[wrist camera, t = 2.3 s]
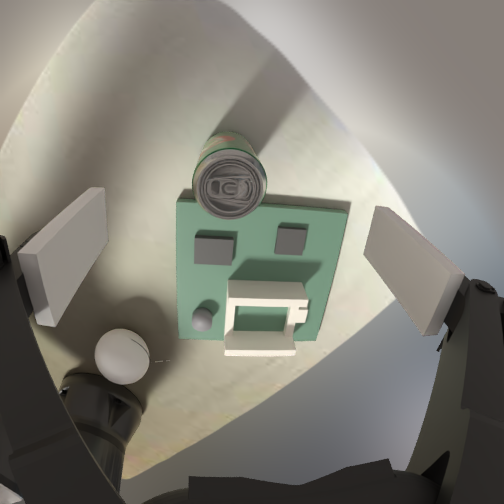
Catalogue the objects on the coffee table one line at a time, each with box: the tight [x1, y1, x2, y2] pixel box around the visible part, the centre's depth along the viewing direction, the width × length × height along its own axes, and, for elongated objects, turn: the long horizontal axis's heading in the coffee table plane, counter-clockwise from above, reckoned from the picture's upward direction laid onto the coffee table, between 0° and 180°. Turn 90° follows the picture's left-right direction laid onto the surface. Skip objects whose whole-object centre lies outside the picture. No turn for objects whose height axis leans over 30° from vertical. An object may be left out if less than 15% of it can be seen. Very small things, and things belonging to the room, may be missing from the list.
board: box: [176, 198, 348, 356], centre depth 36 cm, size 18×18×5 cm
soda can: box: [192, 132, 267, 220], centre depth 26 cm, size 5×5×12 cm
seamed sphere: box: [95, 329, 170, 385], centre depth 38 cm, size 10×7×7 cm
